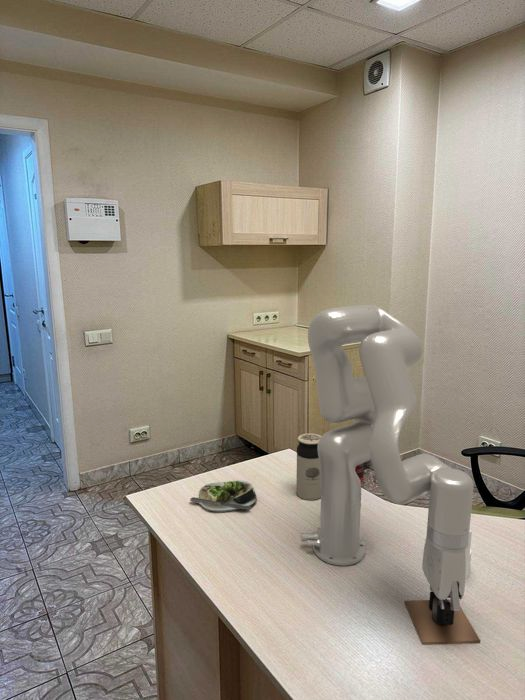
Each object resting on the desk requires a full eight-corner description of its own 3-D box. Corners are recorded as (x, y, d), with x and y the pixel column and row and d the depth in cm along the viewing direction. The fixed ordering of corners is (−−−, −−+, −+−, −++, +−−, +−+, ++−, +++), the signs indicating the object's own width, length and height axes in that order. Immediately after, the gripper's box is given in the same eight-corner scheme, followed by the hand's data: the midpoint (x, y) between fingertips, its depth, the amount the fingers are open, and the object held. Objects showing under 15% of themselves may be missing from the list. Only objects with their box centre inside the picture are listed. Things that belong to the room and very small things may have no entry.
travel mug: (297, 486, 153) (297, 432, 149) (323, 488, 152) (324, 433, 148) (295, 499, 145) (296, 442, 142) (322, 501, 144) (323, 443, 141)
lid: (422, 646, 93) (423, 623, 92) (404, 604, 104) (405, 583, 103) (479, 644, 93) (482, 622, 92) (455, 603, 104) (457, 582, 103)
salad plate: (190, 520, 136) (190, 504, 135) (189, 488, 153) (189, 475, 152) (260, 513, 139) (260, 498, 138) (251, 483, 156) (251, 470, 155)
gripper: (414, 511, 102) (408, 588, 106) (444, 560, 86) (437, 650, 90) (450, 510, 102) (443, 588, 106) (487, 560, 86) (477, 649, 90)
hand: (440, 615), depth 98 cm, fingers closed on lid, 3 cm apart
